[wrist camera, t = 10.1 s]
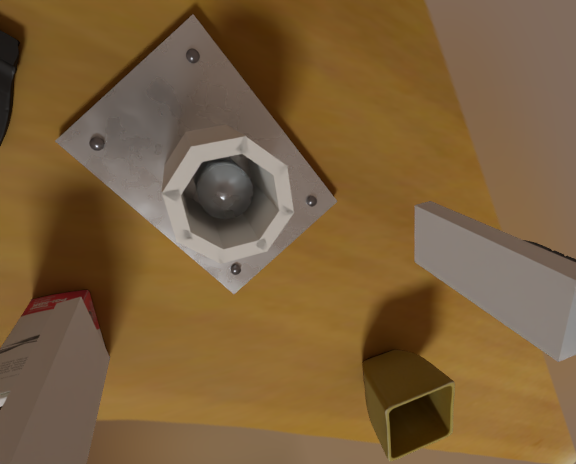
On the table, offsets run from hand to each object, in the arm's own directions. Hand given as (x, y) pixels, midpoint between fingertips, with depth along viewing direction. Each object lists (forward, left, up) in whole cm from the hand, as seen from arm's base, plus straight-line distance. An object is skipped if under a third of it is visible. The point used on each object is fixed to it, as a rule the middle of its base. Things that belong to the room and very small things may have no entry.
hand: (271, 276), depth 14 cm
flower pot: (+34, -2, -20) cm, 40 cm away
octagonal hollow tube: (0, 0, -19) cm, 19 cm away
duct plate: (0, 0, -20) cm, 20 cm away
